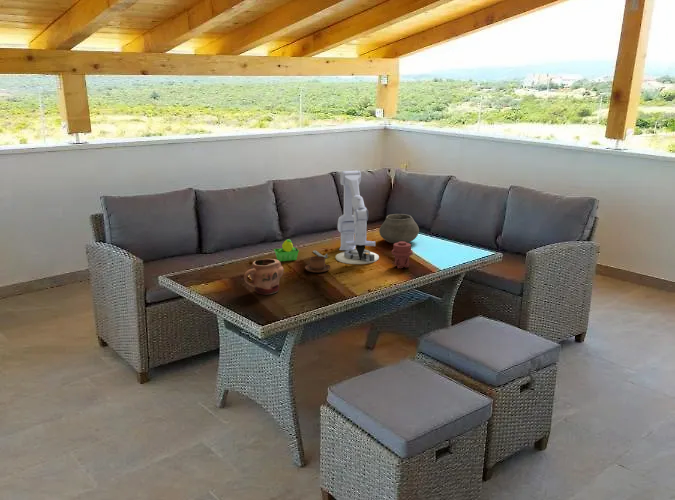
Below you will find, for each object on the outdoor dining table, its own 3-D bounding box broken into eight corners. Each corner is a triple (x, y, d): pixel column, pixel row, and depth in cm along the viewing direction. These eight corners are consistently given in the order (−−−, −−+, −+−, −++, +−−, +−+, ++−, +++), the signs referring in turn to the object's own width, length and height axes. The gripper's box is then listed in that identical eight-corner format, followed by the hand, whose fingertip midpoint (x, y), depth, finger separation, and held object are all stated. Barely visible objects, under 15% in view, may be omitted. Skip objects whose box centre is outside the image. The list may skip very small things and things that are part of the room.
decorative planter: (256, 302, 248) (255, 269, 244) (237, 295, 256) (235, 264, 252) (291, 289, 262) (290, 258, 259) (271, 284, 270) (270, 254, 266)
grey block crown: (343, 261, 299) (343, 253, 298) (345, 252, 316) (345, 244, 314) (369, 261, 298) (369, 254, 297) (370, 252, 315) (370, 245, 313)
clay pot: (407, 249, 324) (407, 222, 320) (372, 244, 335) (372, 217, 331) (424, 240, 341) (425, 214, 337) (391, 236, 352) (391, 210, 348)
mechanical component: (391, 263, 299) (411, 264, 298) (391, 269, 289) (412, 270, 288) (391, 239, 296) (412, 239, 295) (391, 244, 286) (413, 245, 285)
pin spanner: (313, 252, 320) (313, 248, 320) (318, 251, 322) (318, 247, 321) (321, 259, 308) (321, 254, 308) (327, 258, 310) (327, 254, 309)
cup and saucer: (299, 270, 289) (299, 258, 288) (318, 265, 298) (317, 253, 296) (317, 276, 281) (316, 263, 280) (335, 270, 289) (335, 258, 288)
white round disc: (338, 251, 321) (338, 244, 320) (380, 252, 318) (380, 245, 317) (332, 263, 300) (332, 256, 299) (377, 264, 297) (377, 257, 296)
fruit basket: (295, 256, 313) (295, 235, 310) (300, 261, 305) (299, 239, 302) (274, 258, 309) (273, 237, 306) (277, 263, 301) (277, 241, 298)
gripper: (345, 235, 293) (345, 262, 297) (375, 235, 292) (375, 262, 296) (345, 231, 300) (345, 258, 303) (375, 231, 299) (374, 258, 303)
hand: (360, 259), depth 300 cm, fingers closed
